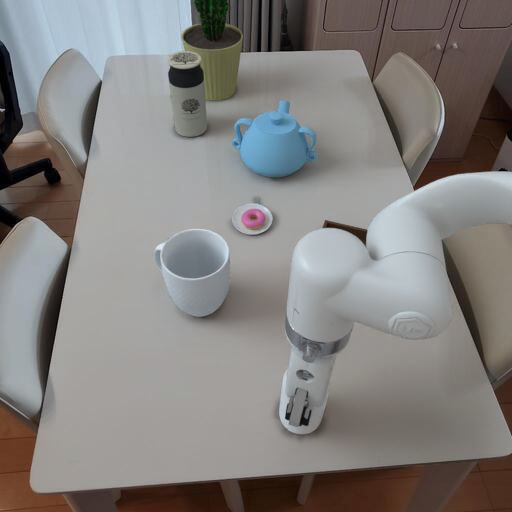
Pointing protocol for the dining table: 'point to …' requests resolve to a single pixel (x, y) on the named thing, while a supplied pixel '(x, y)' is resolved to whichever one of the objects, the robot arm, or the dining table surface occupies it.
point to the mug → (195, 270)
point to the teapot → (274, 143)
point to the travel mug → (187, 93)
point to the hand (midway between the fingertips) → (304, 392)
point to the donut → (252, 219)
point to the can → (316, 411)
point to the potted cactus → (215, 48)
